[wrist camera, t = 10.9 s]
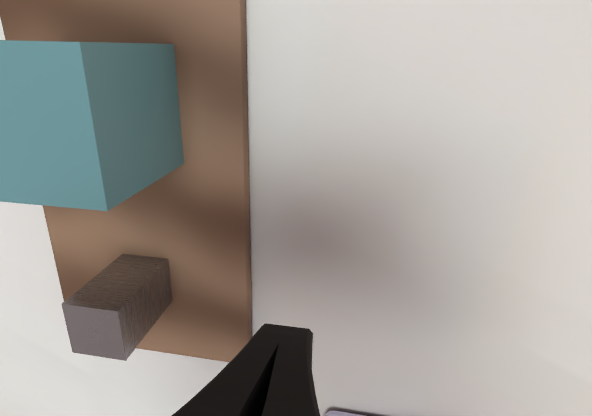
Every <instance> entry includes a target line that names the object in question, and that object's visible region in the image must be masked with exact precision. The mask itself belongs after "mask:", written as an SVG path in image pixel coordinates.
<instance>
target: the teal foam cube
mask: <svg viewBox="0 0 592 416" xmlns="http://www.w3.org/2000/svg"><path fill="white" fill-rule="evenodd" d="M183 164H184V156H183V145H182V133H181V121H180V109H179V98H178V86H177V74H176V62H175V50H174V44H155V43H112V42H68V41H19V40H0V201H2V202H13V203H24V204H35V205H45V206H56V207H67V208H78V209H89V210H100V211H109V210H110V209H112V208H113V207H115V206H117V205H118V204H120V203H122V202H123V201H125V200H126V199H128V198H130V197H131V196H133V195H134V194H136V193H138V192H139V191H141V190H142V189H144V188H146V187H147V186H149V185H151V184H152V183H154V182H155V181H157V180H159V179H160V178H162V177H163V176H165V175H167V174H168V173H170V172H172V171H173V170H175V169H176V168H178V167H180V166H181V165H183Z"/></svg>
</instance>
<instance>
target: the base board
mask: <svg viewBox="0 0 592 416" xmlns="http://www.w3.org/2000/svg"><path fill="white" fill-rule="evenodd" d="M0 17H1V21H2V26H3V30H4V35H5V39H6V40H19V41H68V42H112V43H155V44H174V50H175V62H176V74H177V86H178V98H179V109H180V121H181V133H182V145H183V156H184V164H183V165H181V166H180V167H178V168H176V169H175V170H173V171H172V172H170V173H168V174H167V175H165V176H163V177H162V178H160V179H159V180H157V181H155V182H154V183H152V184H151V185H149V186H147V187H146V188H144V189H142V190H141V191H139V192H138V193H136V194H134V195H133V196H131V197H130V198H128V199H126V200H125V201H123V202H122V203H120V204H118V205H117V206H115V207H113V208H112V209H110V210H109V211H100V210H89V209H78V208H67V207H56V206H45V205H43V209H44V213H45V218H46V222H47V227H48V231H49V236H50V240H51V245H52V249H53V254H54V258H55V262H56V267H57V271H58V276H59V280H60V285H61V289H62V294H63V298H64V302H65V301H66V300H67V299H68V298H69V297H71V296H72V295H73V294H74V293H75V292H77V291H78V290H79V289H80V288H81V287H83V286H84V285H85V284H86V283H88V282H89V281H90V280H91V279H92V278H94V277H95V276H96V275H97V274H98V273H100V272H101V271H102V270H103V269H104V268H106V267H107V266H108V265H109V264H110V263H112V262H113V261H114V260H115V259H117V258H118V257H119V256H120V255H121V254H131V255H139V256H148V257H157V258H166V259H168V260H169V270H170V279H171V289H172V298H173V301H172V302H171V304H170V305H169V306H168V307H167V309H166V310H165V311H164V313H163V314H162V315H161V316H160V318H159V319H158V320H157V321H156V323H155V324H154V325H153V327H152V328H151V329H150V330H149V332H148V333H147V334H146V335H145V337H144V338H143V339H142V341H141V342H140V343H139V344H138V346H137V347H136V348H139V349H145V350H152V351H159V352H165V353H172V354H179V355H185V356H192V357H199V358H205V359H212V360H219V361H225V362H231V360H232V359H233V358H234V357H235V356H236V355H237V354H238V353H239V352H240V351H241V350H242V349H243V348H244V346H245V345H246V344H247V343H248V342H249V341H250V340H251V338H252V312H251V257H250V203H249V149H248V95H247V41H246V0H0Z"/></svg>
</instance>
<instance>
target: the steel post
mask: <svg viewBox="0 0 592 416" xmlns="http://www.w3.org/2000/svg"><path fill="white" fill-rule="evenodd" d="M172 301H173V298H172V289H171V279H170V270H169V260H168V259H166V258H157V257H148V256H139V255H131V254H121V255H120V256H119V257H118V258H117V259H115V260H114V261H113V262H112V263H110V264H109V265H108V266H107V267H106V268H104V269H103V270H102V271H101V272H100V273H98V274H97V275H96V276H95V277H94V278H92V279H91V280H90V281H89V282H88V283H86V284H85V285H84V286H83V287H81V288H80V289H79V290H78V291H77V292H75V293H74V294H73V295H72V296H71V297H69V298H68V299H67V300H66V301H65V302H63V303H62V308H63V312H64V317H65V321H66V325H67V330H68V334H69V339H70V343H71V347H72V352H74V353H80V354H87V355H93V356H100V357H106V358H112V359H119V360H125V361H126V360H127V358H128V357H129V356H130V355H131V353H132V352H133V351H134V350H135V348H136V347H137V346H138V344H139V343H140V342H141V341H142V339H143V338H144V337H145V335H146V334H147V333H148V332H149V330H150V329H151V328H152V327H153V325H154V324H155V323H156V321H157V320H158V319H159V318H160V316H161V315H162V314H163V313H164V311H165V310H166V309H167V307H168V306H169V305H170V304H171V302H172Z"/></svg>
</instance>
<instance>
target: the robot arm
mask: <svg viewBox="0 0 592 416" xmlns="http://www.w3.org/2000/svg"><path fill="white" fill-rule="evenodd" d="M312 341H313V333H312V332H311V331H310V330H309V329H305V328H297V327H289V326H281V325H273V324H264V325H263V326H262V327H261V328H260V329H259V330H258V331H257V333H256V334H255V335H254V336H253V337H252V338H251V340H250V341H249V342H248V343H247V344H246V345H245V346H244V348H243V349H242V350H241V351H240V352H239V353H238V354H237V355H236V356H235V357H234V358H233V359H232V360H231V362H230V363H229V364H228V365H227V366H226V367H225V368H224V369H223V370H222V371H221V372H220V373H219V374H218V375H217V376H216V377H215V378H214V379H213V380H212V381H211V382H209V383H208V384H207V385H206V386H205V387H204V388H203V389H202V390H201V391H200V392H199V393H198V394H197V395H196V396H194V397H193V398H192V399H191V400H190V401H189V402H188V403H186V404H185V405H184V406H183V407H182V408H180V409H179V410H178V411H177V412H176V413H174V414H173V415H172V416H320V413H319V409H318V404H317V399H316V394H315V388H314V382H313V376H312ZM326 416H365V415H358V414H352V413H346V412H340V411H329V412H327V413H326Z"/></svg>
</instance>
